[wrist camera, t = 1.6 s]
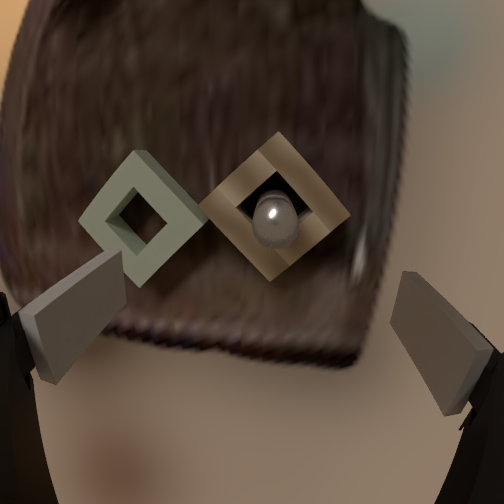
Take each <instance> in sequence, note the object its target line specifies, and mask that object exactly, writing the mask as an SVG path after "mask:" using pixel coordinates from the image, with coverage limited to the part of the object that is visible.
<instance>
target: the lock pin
mask: <svg viewBox="0 0 504 504" xmlns="http://www.w3.org/2000/svg"><path fill="white" fill-rule="evenodd" d="M299 227H300V224H299V219H298V216H297V214H296V212H295V209H294V207H293V205H292V202H291V200H290V198H289V196H288V194H287V193H286V192H285V191H284V190H282V189H280V188H275V187H273V188H268V189H266V190H265V191H263V192H262V193H261V195H260V196H259V199H258V202H257V205H256V209H255V212H254V216H253V220H252V232H253V235H254V237H255V238H256V240H257V241H258V242H259V243H260V244H261V245H263V246H265V247H267V248H271V249H281V248H284V247H286V246H288V245H290V244H291V243H292V242H293V241H294V240H295V239H296V237H297V235H298V232H299Z"/></svg>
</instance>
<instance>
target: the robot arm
mask: <svg viewBox="0 0 504 504" xmlns="http://www.w3.org/2000/svg"><path fill="white" fill-rule="evenodd" d="M126 303H127V302H126V293H125V284H124V273H123V261H122V250H115V249H107V250H106V251H104V252H103V253H101V254H99V255H98V256H96V257H95V258H93V259H92V260H90V261H89V262H87V263H86V264H84V265H83V266H81V267H80V268H78V269H77V270H75V271H74V272H72V273H71V274H70V275H68V276H67V277H65V278H64V279H62V280H61V281H59V282H58V283H57V284H55V285H54V286H52V287H51V288H49V289H48V290H47V291H45V292H43V293H42V294H40V295H39V296H37V297H36V299H33V300H32V301H31V302H30V303H29V304H26V305H25V306H24V307H22V308H21V309H20V310H18V311H17V312H16V313H15V314H13V315H12V316H11V313H10V310H9V306H8V302H7V298H6V294H4V293H3V292H0V504H59V503H58V500H57V497H56V494H55V490H54V487H53V484H52V480H51V477H50V473H49V469H48V465H47V461H46V457H45V452H44V448H43V443H42V438H41V433H40V427H39V421H38V415H37V409H36V401H35V393H34V384H33V378H32V376H31V373H30V371H31V370H32V369H33V368H34V367H35V366H36V369H37V372H38V374H39V377H40V379H41V380H44V381H46V382H49V383H52V384H54V385H57V384H58V382H59V381H60V380H61V378H62V377H63V376H64V375H65V374H66V372H67V371H68V370H69V369H70V367H71V366H72V365H73V364H74V363H75V362H76V360H77V359H78V358H79V357H80V356H81V354H82V353H83V352H84V351H85V350H86V348H87V347H88V346H89V345H90V344H91V343H92V341H93V340H94V339H95V338H96V337H97V336H98V334H99V333H100V332H101V331H102V330H103V329H104V328H105V326H106V325H107V324H108V323H109V322H110V321H111V320H112V318H113V317H114V316H115V315H116V314H117V313H118V312H119V311H120V309H121V308H122V307H123V306H124V305H125V304H126ZM390 324H391V326H392V327H393V329H394V331H395V332H396V334H397V335H398V337H399V339H400V340H401V342H402V344H403V345H404V347H405V348H406V350H407V352H408V353H409V355H410V357H411V358H412V360H413V362H414V364H415V365H416V367H417V369H418V370H419V372H420V374H421V376H422V377H423V379H424V381H425V383H426V384H427V386H428V388H429V390H430V391H431V393H432V395H433V397H434V399H435V400H436V402H437V404H438V406H439V408H440V410H441V411H442V413H443V415H444V416H450V415H455V414H459V413H461V412H462V410H463V408H464V407H465V405H466V403H467V401H468V400H469V402H470V403H471V405H472V409H471V411H470V412H469V414H468V415H467V417H466V418H465V420H464V422H463V424H462V425H461V426H460V428H459V430H462V428H463V427H464V429H463V433H462V436H461V439H460V442H459V445H458V448H457V450H456V453H455V456H454V459H453V462H452V464H451V467H450V469H449V472H448V474H447V477H446V479H445V481H444V484H443V486H442V488H441V491H440V493H439V495H438V497H437V499H436V501H435V503H434V504H504V352H503V353H502V354H501V353H500V352H499V351H498V350H497V349H496V348H495V347H494V346H493V345H492V344H491V343H490V341H489V340H488V339H487V338H485V336H484V335H483V334H482V333H480V331H479V330H478V329H477V328H476V327H475V326H474V325H473V324H472V323H470V322H468V321H467V320H466V319H465V318H464V317H463V316H462V315H461V314H460V313H459V312H458V311H457V310H456V309H455V308H454V307H453V306H452V305H451V304H450V303H449V302H448V301H447V300H446V299H445V298H444V297H443V296H442V295H440V294H439V293H438V292H437V291H436V290H435V289H434V288H433V287H432V286H431V285H430V284H429V283H428V282H426V281H425V280H424V279H423V278H422V277H421V276H420V275H419V274H418V273H417V272H407V271H403V272H402V277H401V281H400V285H399V289H398V294H397V298H396V302H395V306H394V309H393V313H392V317H391V320H390Z"/></svg>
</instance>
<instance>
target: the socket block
mask: <svg viewBox="0 0 504 504" xmlns="http://www.w3.org/2000/svg"><path fill="white" fill-rule="evenodd" d="M138 192H139V193H140V194H141V195H142V197H143V198H144V199H145V200H146V201H147V202H148V203H149V204H150V205H151V206H152V207H153V208H154V209H155V211H156V212H157V213H158V214H159V215H160V216H161V217H162V218H163V219H164V220H165V221H166V222H167V223H168V224H167V225H166V226H165V227H164V228H163V229H162V230H161V231H160V232H159V233H158V234H157V235H156V236H155V237H154V238H153V239H152V240H151V241H150V242H149V243H148V245H146V244H145V243H144V242H143V241H142V240H141V239H140V237H139V236H138V235H137V234H136V233H135V232H134V231H133V230H132V229H131V228H130V227H129V226H128V225H127V223H126V222H125V221H124V220H123V219H122V218H121V217H120V216H119V214H120V213H121V212H122V210H123V209H124V208H125V207H126V206H127V204H128V203H129V202H130V201H131V200H132V199H133V198H134V196H135V195H136V194H137V193H138ZM208 220H209V218H208V217H207V216H206V215H205V213H204V212H203V211H202V210H201V209H200V208H199V207H198V204H197V203H196V202H195V201H194V200H193V199H192V198H191V197H190V196H189V195H188V194H187V193H186V192H185V191H184V190H183V189H182V187H181V186H180V185H179V184H178V183H177V182H176V181H175V180H174V179H173V178H172V177H171V176H170V175H169V174H168V173H167V172H166V171H165V169H164V168H163V167H162V166H161V165H160V164H159V163H158V162H157V161H156V160H155V159H154V158H153V157H152V156H151V155H150V154H149V152H148V151H147V150H133V151H132V153H131V154H130V155H129V156H128V157H127V158H126V160H125V161H124V162H123V163H122V164H121V165H120V167H119V168H118V169H117V170H116V171H115V173H114V174H113V175H112V176H111V178H110V179H109V180H108V181H107V183H106V184H105V185H104V186H103V188H102V189H101V190H100V192H99V193H98V194H97V196H96V197H95V198H94V200H93V201H92V202H91V204H90V205H89V206H88V208H87V209H86V210H85V212H84V213H83V214H82V216H81V217H80V219H79V220H78V221H79V223H80V224H81V225H82V226H83V227H84V228H85V230H86V231H87V232H88V233H89V234H90V235H91V236H92V238H93V239H94V240H95V241H96V242H97V243H98V244H99V245H100V247H101V248H102V249H103V250H104V251H106V250H107V249H115V250H122V261H123V272H124V273H125V274H126V275H127V276H128V277H129V278H130V279H131V280H132V281H133V282H134V283H135V284H136V285H137V286H138V287H139V288H140V287H141V286H142V285H143V284H144V283H145V282H146V281H147V280H148V279H149V278H150V277H151V276H152V275H153V274H154V273H155V272H156V271H157V270H158V269H159V268H160V267H161V266H162V265H163V264H164V263H165V262H166V261H167V260H168V259H169V258H170V257H171V256H172V255H173V254H174V253H175V252H176V251H177V250H178V249H179V248H180V247H181V246H182V245H183V244H184V243H185V242H186V241H187V240H188V239H189V238H190V237H191V236H192V235H193V234H195V233H196V232H197V231H198V230H199V229H200V228H201V227H202V226H203V225H204V224H205V223H206V222H207V221H208Z"/></svg>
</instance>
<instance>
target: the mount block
mask: <svg viewBox="0 0 504 504" xmlns="http://www.w3.org/2000/svg"><path fill="white" fill-rule="evenodd" d="M276 171H278V172H279V174H280V175H281V176H282V177H283V178H284V179H285V180H286V181H287V182H288V184H289V185H290V186H291V187H292V188H293V189H294V190H295V191H296V193H297V194H298V195H299V196H300V197H301V198H302V199H303V201H304V202H305V203H306V204H307V205H308V206H309V207H308V208H306V209H305V210H304V211H303V212H302V213H301V214H299V215H298V219H299V224H300V227H299V232H298V235H297V237H296V239H295V240H294V241H293V242H292V243H291V244H290V245H288V246H286V247H284V248H281V249H271V248H267V247H265V246H263V245H261V244H260V243H259V242H258V241H257V240H256V238H255V237H254V235H253V232H252V220H253V216H252V215H251V214H250V213H249V212H248V211H247V210H246V209H245V208H244V207H243V206H242V205H241V202H242V201H243V200H244V199H245V198H246V197H248V196H249V195H250V194H251V193H252V192H253V191H254V190H255V189H257V188H258V187H259V186H260V185H261V184H262V183H263V182H264V181H265V180H267V179H268V178H269V177H270V176H271V175H272V174H273V173H275V172H276ZM198 207H199V208H200V209H201V210H202V211H203V212H204V213H205V215H206V216H207V217H208V218H209V219H210V220H211V221H212V222H213V223H214V224H215V225H216V226H217V227H218V228H219V229H220V230H221V231H222V232H223V233H224V235H225V236H226V237H227V238H228V239H229V240H230V241H231V242H232V243H233V244H234V245H235V246H236V247H237V248H238V249H239V250H240V251H241V252H242V253H243V254H244V256H245V257H246V258H247V259H248V260H249V261H250V262H251V263H252V264H253V265H254V266H255V267H256V268H257V269H258V270H259V271H260V272H261V273H262V274H263V275H264V276H265V277H266V278H267V280H268V281H269V282H271V281H272V280H273V279H274V278H276V277H277V276H278V275H279V274H281V273H282V272H283V271H284V270H285V269H287V268H288V267H289V266H290V265H292V264H293V263H294V262H295V261H296V260H298V259H299V258H300V257H301V256H303V255H304V254H305V253H306V252H307V251H309V250H310V249H311V248H312V247H313V246H315V245H316V244H317V243H318V242H319V241H321V240H322V239H323V238H324V237H325V236H327V235H328V234H329V233H330V232H331V231H332V230H334V229H335V228H336V227H337V226H338V225H340V224H341V223H342V222H343V221H344V220H345V219H347V218H348V217H349V216H350V214H349V212H348V211H347V210H346V209H345V207H344V206H343V205H342V204H341V202H340V201H339V200H338V199H337V197H336V196H335V195H334V194H333V193H332V191H331V190H330V189H329V188H328V187H327V185H326V184H325V183H324V182H323V181H322V179H321V178H320V177H319V176H318V175H317V174H316V172H315V171H314V170H313V169H312V168H311V167H310V166H309V164H308V163H307V162H306V161H305V160H304V159H303V158H302V156H301V155H300V154H299V153H298V152H297V151H296V150H295V149H294V147H293V146H292V145H291V144H290V143H289V142H288V141H287V140H286V139H285V138H284V137H283V135H282V134H281V133H280V132H277V133H276V134H275V135H274V136H273V137H272V138H270V139H269V140H268V141H267V142H266V143H265V144H264V145H263V146H261V147H260V148H259V149H258V150H257V151H256V152H255V153H254V154H252V155H251V156H250V157H249V158H248V159H247V160H246V161H245V162H244V163H242V164H241V165H240V166H239V167H238V168H237V169H236V170H235V171H234V172H233V173H232V174H231V175H229V176H228V177H227V178H226V179H225V180H224V181H223V182H222V183H221V184H220V185H219V186H218V187H217V188H216V189H215V190H213V191H212V192H211V193H210V194H209V195H208V196H207V197H206V198H205V199H204V200H203V201H202V202H201V203H200V204H199V205H198Z"/></svg>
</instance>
